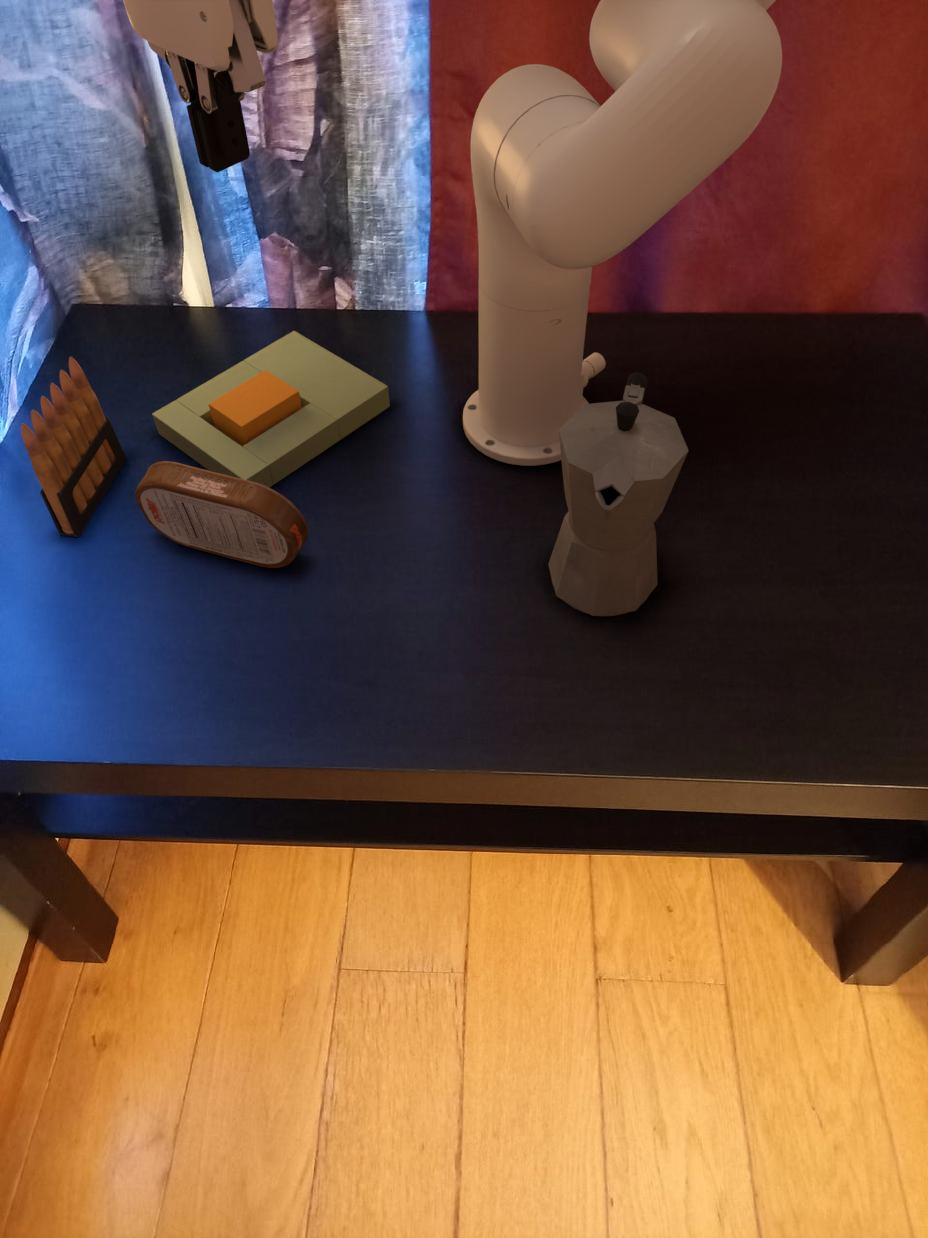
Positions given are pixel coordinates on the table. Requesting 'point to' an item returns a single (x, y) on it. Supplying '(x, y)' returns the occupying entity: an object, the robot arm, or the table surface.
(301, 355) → the olive rectangular frame
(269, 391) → the ochre box
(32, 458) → the ammunition clip
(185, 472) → the tin
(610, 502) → the coffeepot
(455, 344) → the table surface
